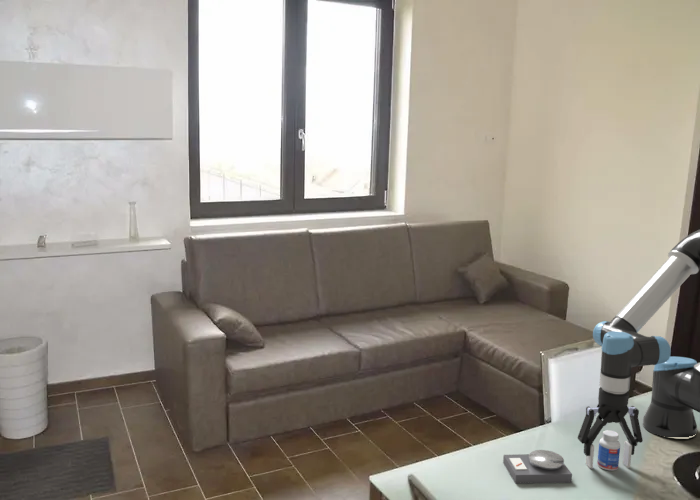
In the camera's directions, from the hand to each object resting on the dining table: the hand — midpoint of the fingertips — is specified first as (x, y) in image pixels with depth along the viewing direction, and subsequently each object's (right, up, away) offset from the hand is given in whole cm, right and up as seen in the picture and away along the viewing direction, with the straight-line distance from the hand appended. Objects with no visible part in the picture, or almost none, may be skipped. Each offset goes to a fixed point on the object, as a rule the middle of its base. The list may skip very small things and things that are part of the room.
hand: (607, 465), depth 175 cm
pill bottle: (0, 0, 0) cm, 0 cm away
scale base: (-21, -1, -4) cm, 21 cm away
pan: (-18, +2, -4) cm, 19 cm away
